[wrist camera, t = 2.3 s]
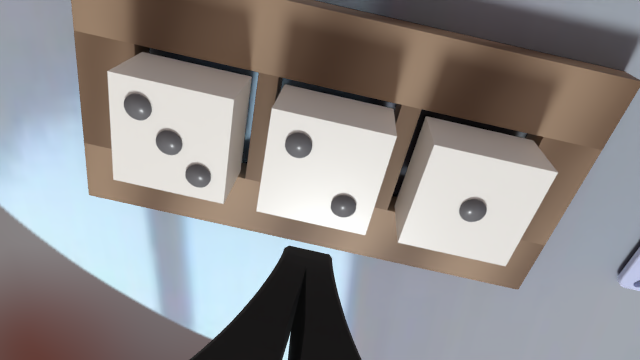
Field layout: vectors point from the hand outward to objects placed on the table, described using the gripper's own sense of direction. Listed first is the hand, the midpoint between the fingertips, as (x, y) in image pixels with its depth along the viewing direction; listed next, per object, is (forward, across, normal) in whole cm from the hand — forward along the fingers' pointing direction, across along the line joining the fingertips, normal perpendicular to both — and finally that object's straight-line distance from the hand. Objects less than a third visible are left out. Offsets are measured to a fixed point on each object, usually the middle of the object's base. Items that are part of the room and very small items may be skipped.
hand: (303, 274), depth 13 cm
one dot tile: (+9, -6, 0) cm, 11 cm away
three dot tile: (+9, +7, 0) cm, 11 cm away
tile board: (+10, 0, 0) cm, 10 cm away
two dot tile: (+9, 0, 0) cm, 9 cm away
